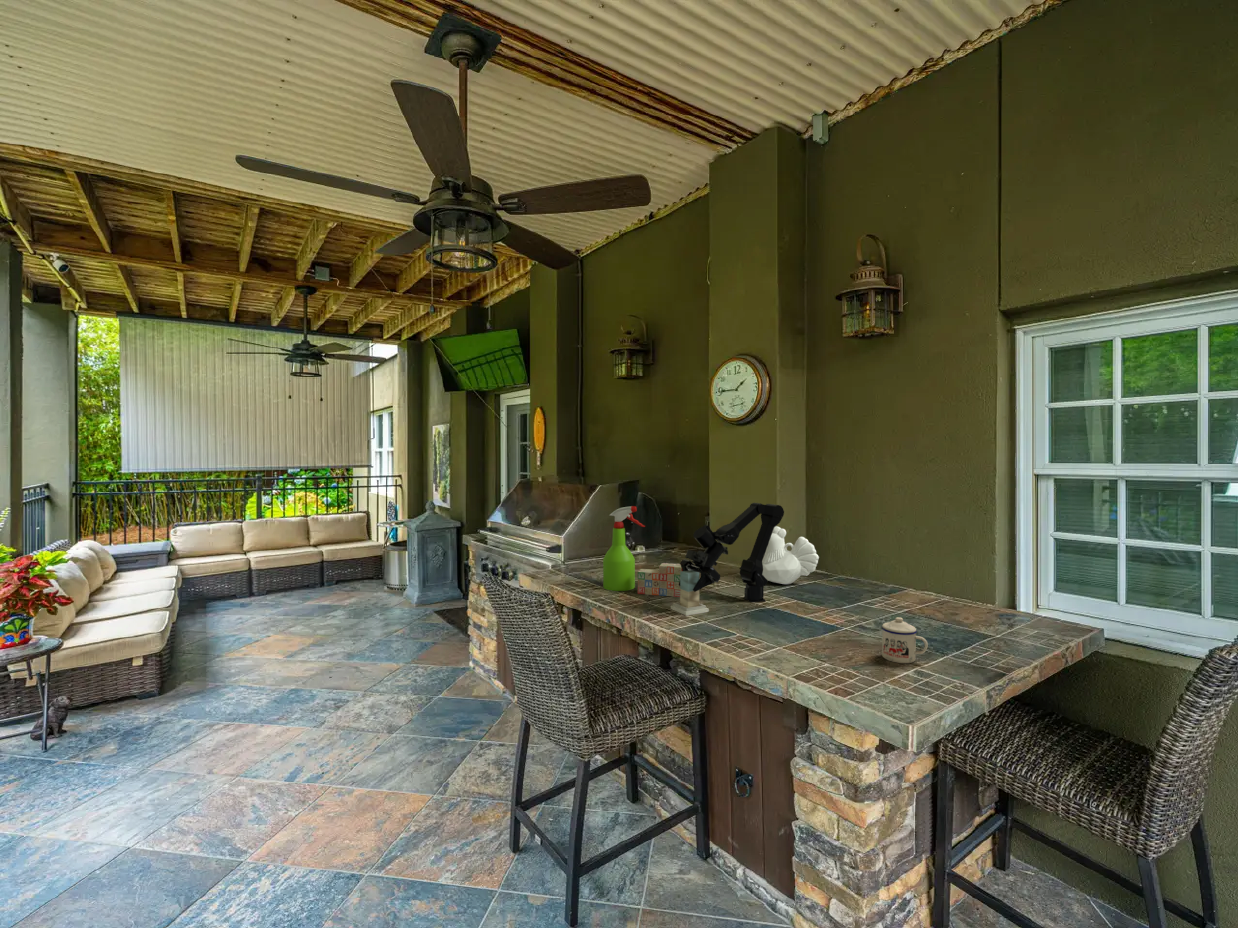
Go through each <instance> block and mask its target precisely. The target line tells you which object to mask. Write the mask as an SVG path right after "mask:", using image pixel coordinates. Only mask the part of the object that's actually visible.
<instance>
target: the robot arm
mask: <svg viewBox="0 0 1238 928" xmlns="http://www.w3.org/2000/svg"><path fill="white" fill-rule="evenodd" d="M759 515H760V519H761V525H760V527H759V528H760V529H759V530H758V532H757V533H758V534H757V536H756V539H755V542H754V545H753V548H752V550H751V553H750V556H749V558H747V559H742V562H741V565H740V566H739V575H740V578H741V580H742V583H743V584H745V587H744V595H743V599H745V600H746V601H747V602H750V603H754V602H766V599H765V598H764V597H765V596H764V594H765V593H764V592H765V589H764V587H766V586H767V584H768V580H767V579H766V578H765V577H764V576H763V575H762V573H763V564H762V560H763V557H764V555H765V552H766V549H767V546H768V543H769V541H770V538H771V535H772V532H773V529H774V527H775V526H777V525H779V524H780V523H781V521H782V519H783V517H784V515H785V510H784V507H783V506H781V504H774V503H773V504H771V503H766V504H763V503H759V502H752V503H750V505H749V506H748V507H747V508H746V509H745V510H744V511H742V513H740V514H739V515H738V516H737V517H736V518H734V520H732V521H731V522H730V523H727V524H724V525H722V526H721V527H719V528H717V529H716V531H713V530H712V529H711V528H710V526H709V525H708V524H704V525H703V526H701V527H699V528H697V530H695V531H694V532H693V538H694V539H695V540H696V541H697V543H698V544H699V545H700V546H701V548H704V549H705V550H704V551H702V550H698V551H695V550H691V549H687V551H686V553H685V554H686V555H685V557H684V558H685V559H682V560H681V561H680V563H679V564H680V565H681V568H682V571H689V570H693V571H696V572H699V574H700V576H699V580H698V582H697V583H696V585H695V587H694V589H693V591H694V592H696V591H698V590H699V591H700V590H701V589H703V588H706V587H707V586H709V585H712V584H715V583H719V581H720V579H721V574H720V573H719V572H718V571H717V570H716V569H715V567H716V566H718V563H717V561H718V560H719V558H720V557H721V556H722V554H724V555H729V550H728V547H727V546H724V545H733V544H735V542H736V541H737V540H738V539H739V536H740V534H741V532H742V530H744V529H745V528H746V527H748V525H749V524H751V523H752V522H753V521H754V520H755V519H756V518H757V517H758V516H759ZM688 559H689V560H688ZM713 566H715V567H713ZM679 586H680V582H679Z"/></svg>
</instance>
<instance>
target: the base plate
mask: <svg viewBox="0 0 1238 928" xmlns="http://www.w3.org/2000/svg"><path fill="white" fill-rule="evenodd" d="M709 609H710V608H708V607H707V605H705V604H703V603H700V602H699V606H696V607H690V608H686V607H684V606H681V605H680V601H678V602H673V604H672V605H670V610H673V611H675V612H677V613H680V614H681V615H684V616H692V615H697V614H703V613H708V612H709V611H710V610H709Z"/></svg>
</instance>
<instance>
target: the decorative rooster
mask: <svg viewBox="0 0 1238 928" xmlns="http://www.w3.org/2000/svg"><path fill="white" fill-rule="evenodd" d="M786 536H787V530H786V529H785V528H782V527H780V526H775V527H774V529H773V532H772V535H771V538H770V541H769V543H768V546H767V549H766V552H765V555H764V557H763V560H762V564H763V573H762V575H763V576H764V577H765V578H766V579H767V582H768V581H769V582H772V583H775V584H782V585H791V584H792V583H794V582H796V581H797V580H798V579H799V578H800V577H801V576H809V575H810V574H811V573H813V572H814V571H816V569H817V568H816V567H817V566H818V564H819V559H820V556H819V555H818V554H817V550H816V548H815V545H814V544H813V543H811V542H809V540H808V539H807V538H806V537H804V536H799V537H798V538H797V539H796V541H795V542H794V544H793V543H792V542H787V543H786V542H785V538H786ZM788 547H790V548H791V550H788Z"/></svg>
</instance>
